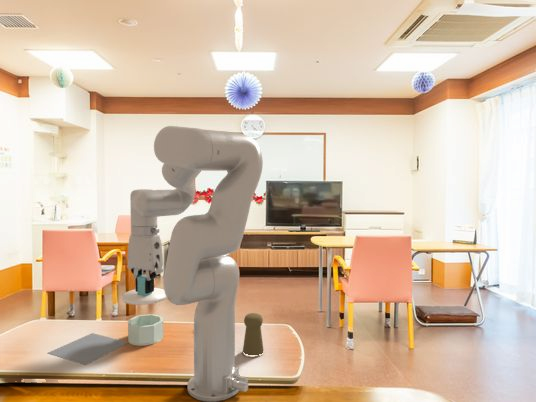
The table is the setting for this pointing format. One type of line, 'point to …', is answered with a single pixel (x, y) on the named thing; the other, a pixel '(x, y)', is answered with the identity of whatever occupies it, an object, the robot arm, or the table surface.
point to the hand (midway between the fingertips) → (144, 291)
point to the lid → (143, 294)
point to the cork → (253, 334)
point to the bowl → (145, 329)
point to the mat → (88, 348)
